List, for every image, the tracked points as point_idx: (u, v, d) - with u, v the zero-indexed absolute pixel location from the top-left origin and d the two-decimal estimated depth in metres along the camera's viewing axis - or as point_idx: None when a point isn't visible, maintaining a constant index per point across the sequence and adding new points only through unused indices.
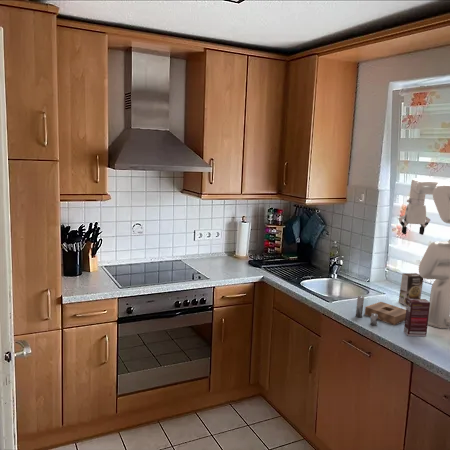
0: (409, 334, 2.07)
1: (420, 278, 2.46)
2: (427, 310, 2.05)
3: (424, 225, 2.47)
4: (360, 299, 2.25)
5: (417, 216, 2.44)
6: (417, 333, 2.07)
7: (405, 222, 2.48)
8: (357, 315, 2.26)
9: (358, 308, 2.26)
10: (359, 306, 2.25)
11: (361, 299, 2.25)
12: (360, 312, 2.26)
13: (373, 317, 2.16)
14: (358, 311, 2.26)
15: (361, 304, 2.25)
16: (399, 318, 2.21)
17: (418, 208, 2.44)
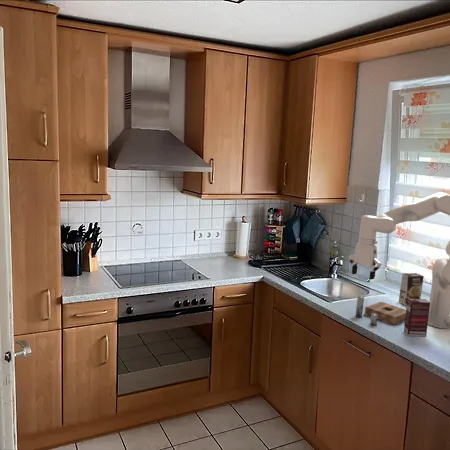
0: (409, 334, 2.07)
1: (420, 278, 2.46)
2: (427, 310, 2.05)
3: (356, 263, 2.28)
4: (360, 299, 2.25)
5: None
6: (417, 333, 2.07)
7: None
8: (357, 315, 2.26)
9: (358, 308, 2.26)
10: (359, 306, 2.25)
11: (361, 299, 2.25)
12: (360, 312, 2.26)
13: (373, 317, 2.16)
14: (358, 311, 2.26)
15: (361, 304, 2.25)
16: (399, 318, 2.21)
17: None
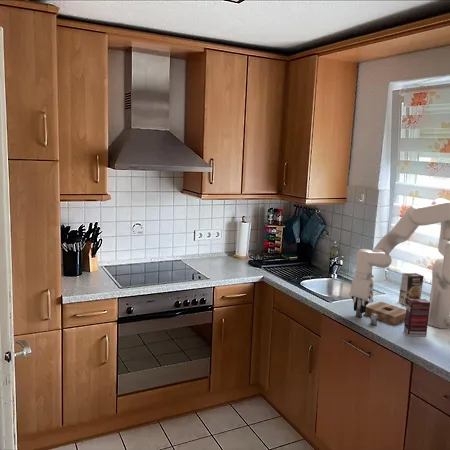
0: (409, 334, 2.07)
1: (420, 278, 2.46)
2: (427, 310, 2.05)
3: None
4: (360, 299, 2.25)
5: None
6: (417, 333, 2.07)
7: None
8: (357, 315, 2.26)
9: (358, 308, 2.26)
10: (359, 306, 2.25)
11: (361, 299, 2.25)
12: None
13: (373, 317, 2.16)
14: (358, 311, 2.26)
15: (361, 304, 2.25)
16: (399, 318, 2.21)
17: None
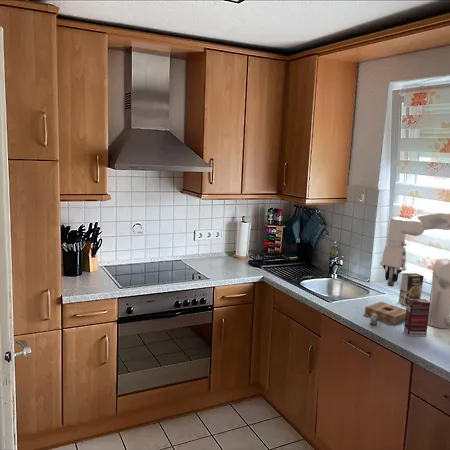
0: (409, 334, 2.07)
1: (420, 278, 2.46)
2: (427, 310, 2.05)
3: None
4: (392, 268, 2.24)
5: None
6: (417, 333, 2.07)
7: None
8: (389, 284, 2.25)
9: (390, 277, 2.25)
10: (391, 275, 2.24)
11: (393, 268, 2.24)
12: None
13: (373, 317, 2.16)
14: (390, 280, 2.25)
15: (393, 272, 2.24)
16: (399, 318, 2.21)
17: None
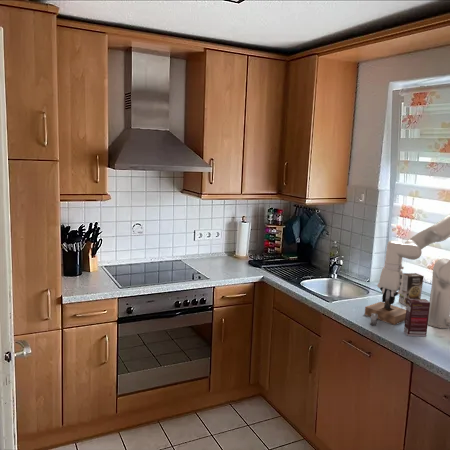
0: (409, 334, 2.07)
1: (420, 278, 2.46)
2: (427, 310, 2.05)
3: (385, 290, 2.30)
4: (389, 290, 2.26)
5: None
6: (417, 333, 2.07)
7: None
8: (386, 306, 2.27)
9: (387, 299, 2.27)
10: (388, 297, 2.26)
11: (390, 290, 2.26)
12: None
13: (373, 317, 2.16)
14: (387, 302, 2.27)
15: (390, 295, 2.26)
16: (399, 318, 2.21)
17: None
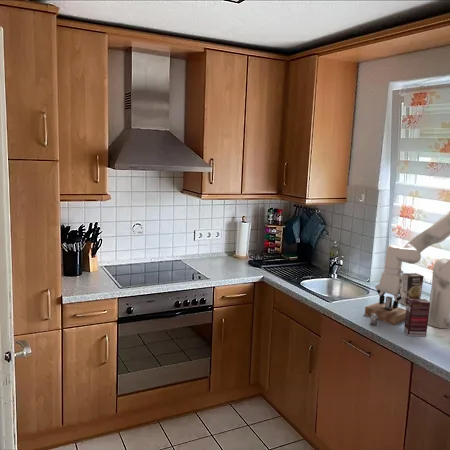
0: (409, 334, 2.07)
1: (420, 278, 2.46)
2: (427, 310, 2.05)
3: None
4: (389, 299, 2.26)
5: None
6: (417, 333, 2.07)
7: None
8: None
9: (387, 308, 2.27)
10: (387, 307, 2.27)
11: (390, 299, 2.26)
12: None
13: (373, 317, 2.16)
14: None
15: (390, 304, 2.27)
16: (399, 318, 2.21)
17: None
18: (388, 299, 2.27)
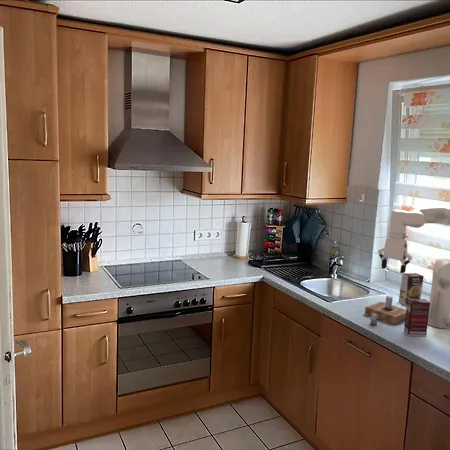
0: (409, 334, 2.07)
1: (420, 278, 2.46)
2: (427, 310, 2.05)
3: (385, 257, 2.29)
4: (389, 299, 2.26)
5: None
6: (417, 333, 2.07)
7: None
8: None
9: (387, 308, 2.27)
10: (387, 307, 2.27)
11: (390, 299, 2.26)
12: None
13: (373, 317, 2.16)
14: None
15: (390, 304, 2.27)
16: (399, 318, 2.21)
17: None
18: (388, 299, 2.27)
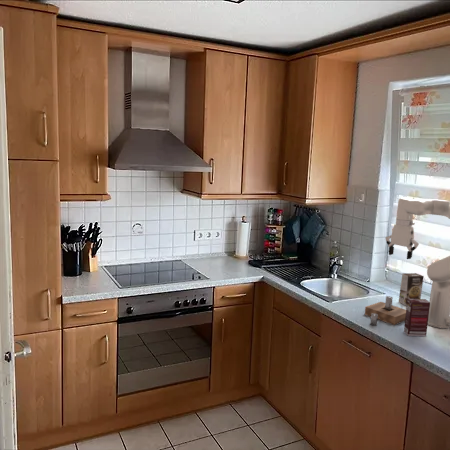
0: (409, 334, 2.07)
1: (420, 278, 2.46)
2: (427, 310, 2.05)
3: (392, 244, 2.38)
4: (389, 299, 2.26)
5: None
6: (417, 333, 2.07)
7: None
8: None
9: (387, 308, 2.27)
10: (387, 307, 2.27)
11: (390, 299, 2.26)
12: None
13: (373, 317, 2.16)
14: None
15: (390, 304, 2.27)
16: (399, 318, 2.21)
17: None
18: (388, 299, 2.27)
